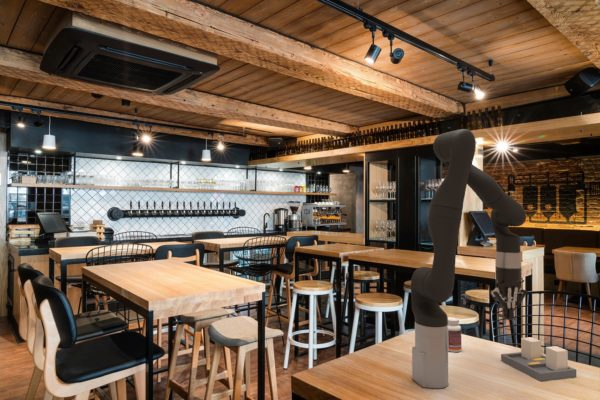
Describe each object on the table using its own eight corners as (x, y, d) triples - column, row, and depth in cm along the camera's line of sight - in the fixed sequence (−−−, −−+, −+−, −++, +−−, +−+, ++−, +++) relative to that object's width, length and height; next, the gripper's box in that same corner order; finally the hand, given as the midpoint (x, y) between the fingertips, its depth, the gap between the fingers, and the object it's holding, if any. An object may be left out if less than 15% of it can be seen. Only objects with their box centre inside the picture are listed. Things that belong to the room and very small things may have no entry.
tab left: (531, 360, 127) (530, 342, 128) (521, 356, 131) (521, 338, 131) (541, 359, 128) (541, 341, 129) (531, 355, 132) (531, 337, 132)
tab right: (557, 371, 119) (556, 351, 119) (545, 366, 123) (545, 347, 123) (567, 370, 120) (567, 350, 120) (556, 365, 124) (556, 346, 124)
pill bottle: (464, 349, 142) (464, 318, 142) (456, 354, 137) (456, 322, 138) (447, 345, 146) (447, 315, 146) (440, 349, 142) (439, 318, 142)
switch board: (540, 381, 116) (540, 373, 116) (501, 360, 131) (500, 353, 131) (576, 376, 119) (576, 369, 119) (533, 357, 134) (533, 350, 134)
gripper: (499, 268, 123) (499, 323, 123) (534, 266, 126) (534, 321, 126) (482, 264, 130) (483, 317, 130) (516, 263, 134) (516, 315, 133)
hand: (508, 319), depth 128 cm, fingers closed
